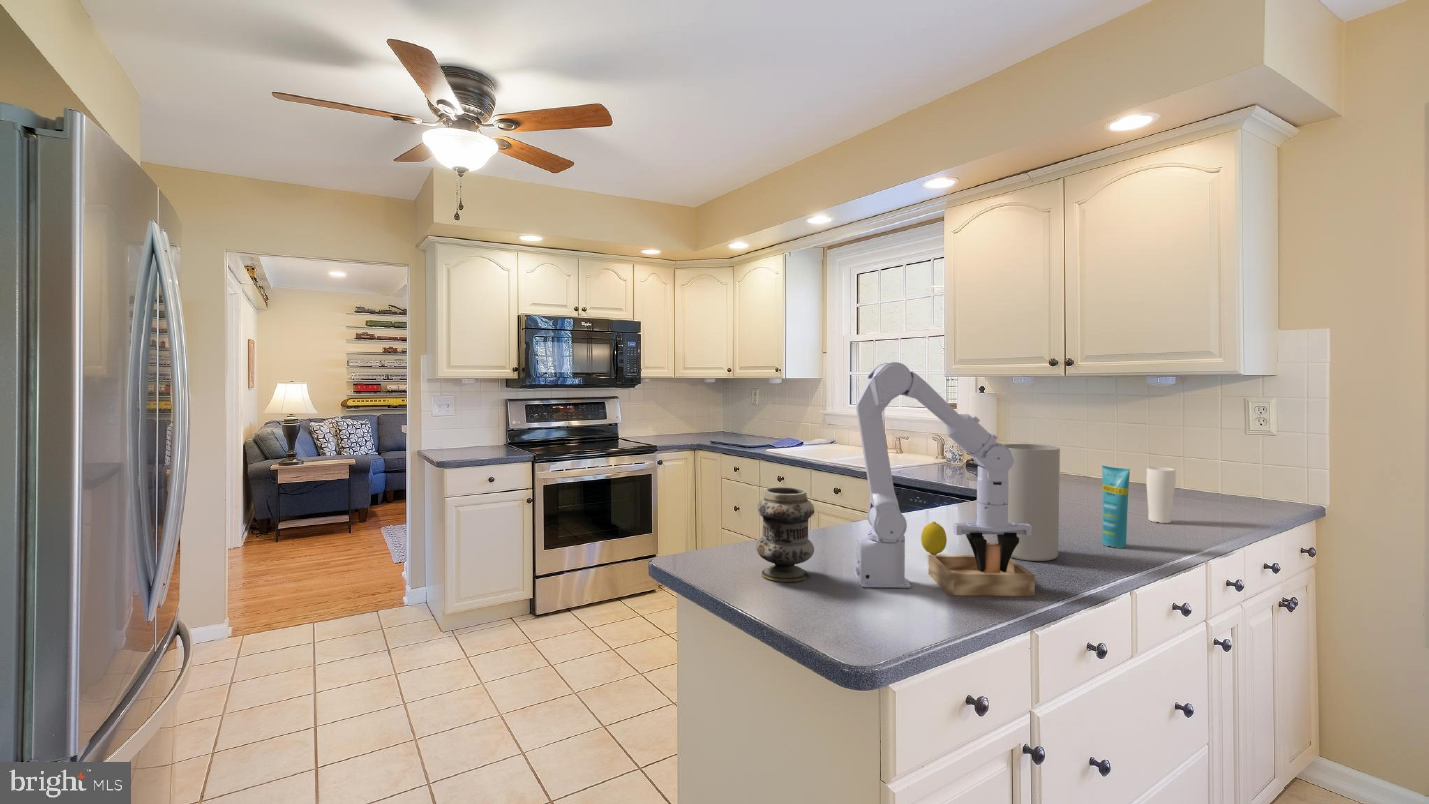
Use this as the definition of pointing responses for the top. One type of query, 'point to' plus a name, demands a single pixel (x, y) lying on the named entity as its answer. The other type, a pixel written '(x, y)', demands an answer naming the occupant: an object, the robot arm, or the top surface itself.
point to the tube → (1115, 505)
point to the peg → (992, 558)
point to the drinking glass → (1160, 493)
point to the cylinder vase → (1035, 499)
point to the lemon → (933, 538)
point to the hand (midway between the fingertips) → (991, 570)
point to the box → (979, 577)
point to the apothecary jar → (785, 533)
